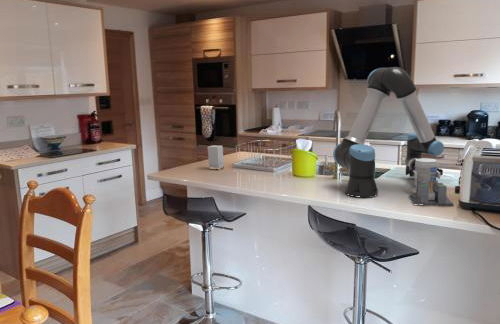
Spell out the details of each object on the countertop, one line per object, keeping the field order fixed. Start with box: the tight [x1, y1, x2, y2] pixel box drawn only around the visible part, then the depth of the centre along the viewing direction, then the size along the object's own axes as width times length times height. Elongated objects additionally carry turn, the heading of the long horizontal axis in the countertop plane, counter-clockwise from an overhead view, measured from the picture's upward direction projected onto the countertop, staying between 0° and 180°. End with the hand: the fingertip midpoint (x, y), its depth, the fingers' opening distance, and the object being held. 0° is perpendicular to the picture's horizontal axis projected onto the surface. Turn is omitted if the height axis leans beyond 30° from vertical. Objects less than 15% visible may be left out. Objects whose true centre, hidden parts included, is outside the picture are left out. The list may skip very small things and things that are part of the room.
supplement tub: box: [413, 157, 438, 191], centre depth 189 cm, size 10×10×15 cm
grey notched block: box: [408, 182, 454, 207], centre depth 178 cm, size 12×16×8 cm
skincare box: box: [207, 144, 225, 168], centre depth 265 cm, size 8×7×16 cm
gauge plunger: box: [415, 179, 439, 200], centre depth 180 cm, size 10×9×8 cm
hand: (427, 175), depth 185 cm, fingers closed on supplement tub, 9 cm apart
